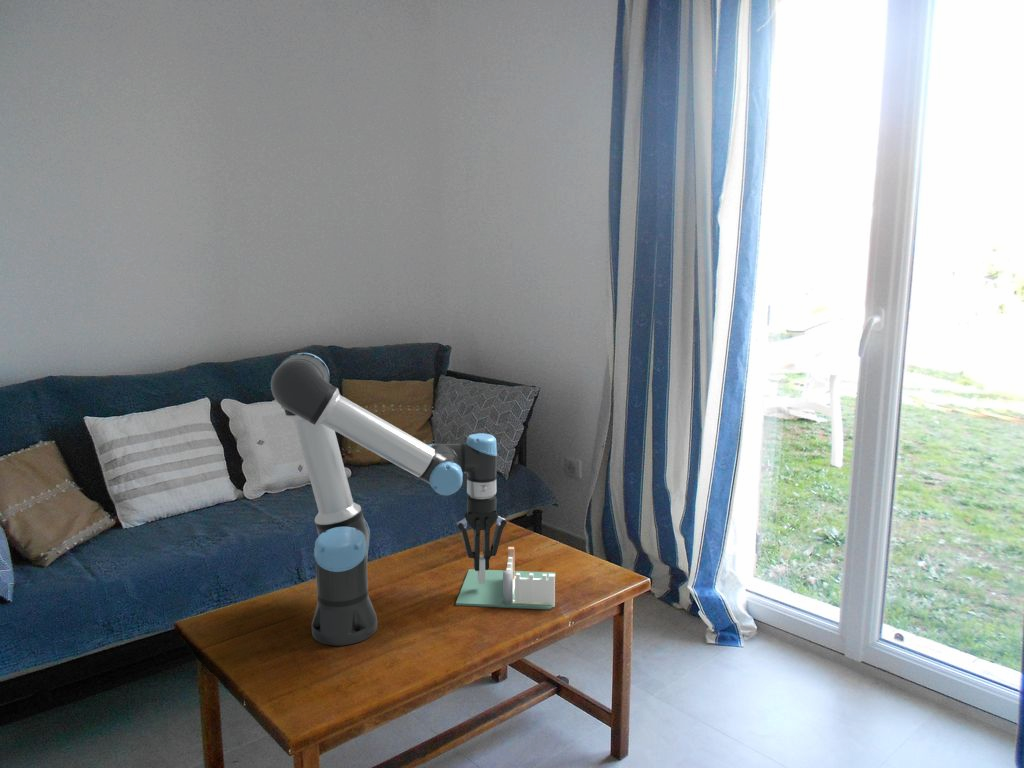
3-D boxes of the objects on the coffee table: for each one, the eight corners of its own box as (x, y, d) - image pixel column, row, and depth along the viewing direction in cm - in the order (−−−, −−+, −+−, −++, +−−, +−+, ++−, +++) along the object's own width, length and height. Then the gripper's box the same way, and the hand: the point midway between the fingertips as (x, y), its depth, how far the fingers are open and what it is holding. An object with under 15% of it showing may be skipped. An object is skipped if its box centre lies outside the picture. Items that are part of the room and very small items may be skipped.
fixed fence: (502, 605, 188) (502, 574, 186) (503, 601, 190) (503, 569, 188) (554, 608, 186) (554, 576, 185) (554, 603, 188) (554, 572, 187)
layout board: (455, 605, 188) (455, 602, 188) (469, 571, 208) (469, 568, 207) (551, 609, 185) (551, 606, 185) (555, 574, 205) (555, 572, 205)
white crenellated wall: (508, 576, 202) (508, 546, 200) (514, 576, 202) (514, 546, 200) (505, 596, 190) (505, 565, 189) (511, 596, 190) (511, 565, 189)
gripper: (458, 501, 185) (459, 590, 189) (510, 497, 188) (509, 585, 192) (453, 491, 192) (454, 577, 197) (503, 488, 195) (502, 573, 200)
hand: (481, 581), depth 195 cm, fingers closed
